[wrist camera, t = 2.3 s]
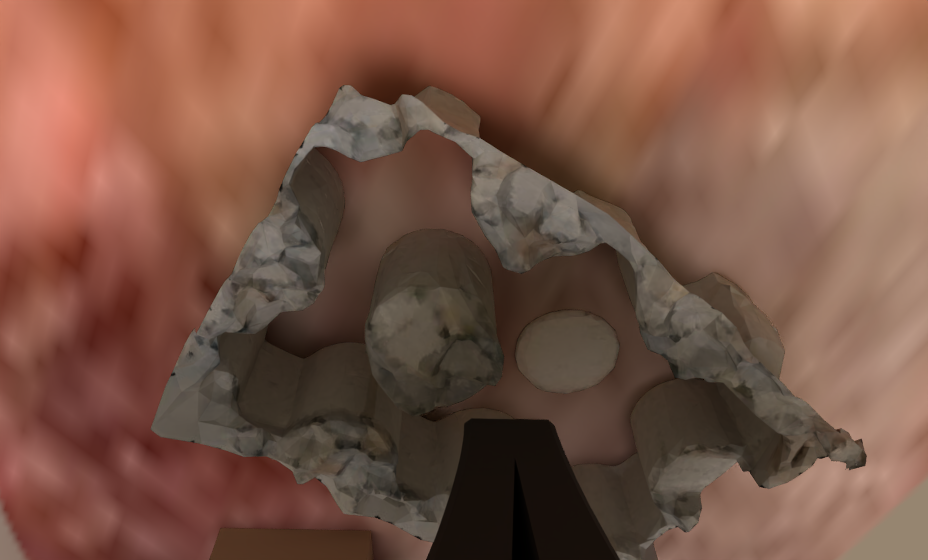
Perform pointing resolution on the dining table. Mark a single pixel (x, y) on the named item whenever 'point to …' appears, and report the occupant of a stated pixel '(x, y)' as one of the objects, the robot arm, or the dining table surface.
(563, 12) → the dining table surface
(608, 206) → the grey piece
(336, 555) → the walnut block
